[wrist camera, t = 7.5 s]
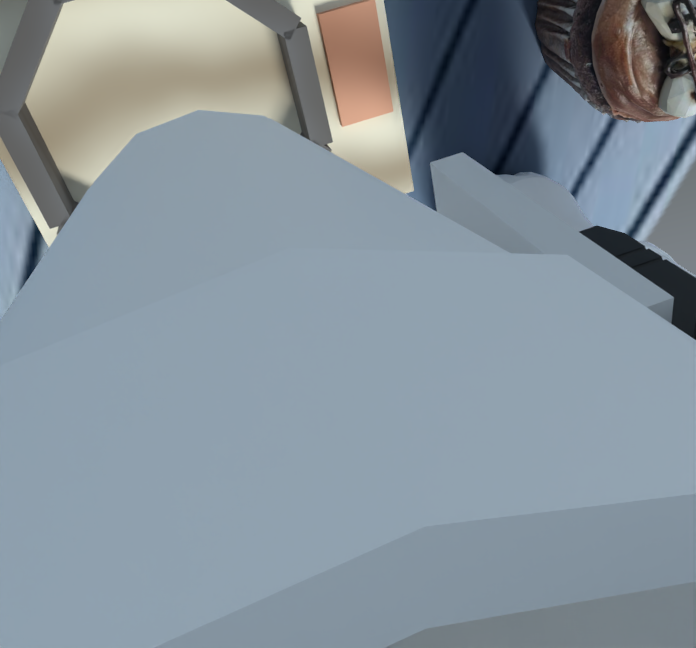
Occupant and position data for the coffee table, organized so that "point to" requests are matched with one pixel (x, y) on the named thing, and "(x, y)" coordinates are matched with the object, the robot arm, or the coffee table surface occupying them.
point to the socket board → (187, 83)
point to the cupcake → (624, 54)
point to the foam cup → (331, 421)
